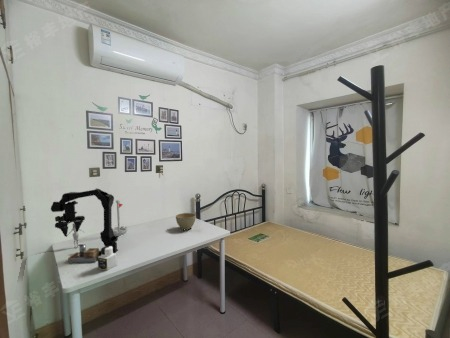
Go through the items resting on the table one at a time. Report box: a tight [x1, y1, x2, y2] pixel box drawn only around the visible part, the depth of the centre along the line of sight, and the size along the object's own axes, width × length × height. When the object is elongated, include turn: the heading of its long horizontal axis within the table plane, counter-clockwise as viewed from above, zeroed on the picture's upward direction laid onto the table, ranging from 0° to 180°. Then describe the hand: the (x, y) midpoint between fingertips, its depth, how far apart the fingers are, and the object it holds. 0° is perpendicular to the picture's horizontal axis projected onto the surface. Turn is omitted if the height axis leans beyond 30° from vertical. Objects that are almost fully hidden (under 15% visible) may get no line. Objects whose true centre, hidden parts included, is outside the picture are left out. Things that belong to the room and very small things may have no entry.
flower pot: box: [175, 212, 197, 230], centre depth 200 cm, size 18×18×12 cm
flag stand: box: [112, 199, 128, 237], centre depth 186 cm, size 13×13×30 cm
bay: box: [67, 244, 101, 264], centre depth 145 cm, size 20×17×6 cm
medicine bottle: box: [97, 245, 118, 271], centre depth 130 cm, size 7×7×12 cm
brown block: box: [84, 247, 100, 258], centre depth 142 cm, size 6×6×5 cm
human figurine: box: [65, 222, 85, 249], centre depth 161 cm, size 12×4×18 cm, turn 145°
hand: (71, 233), depth 149 cm, fingers open, 9 cm apart
